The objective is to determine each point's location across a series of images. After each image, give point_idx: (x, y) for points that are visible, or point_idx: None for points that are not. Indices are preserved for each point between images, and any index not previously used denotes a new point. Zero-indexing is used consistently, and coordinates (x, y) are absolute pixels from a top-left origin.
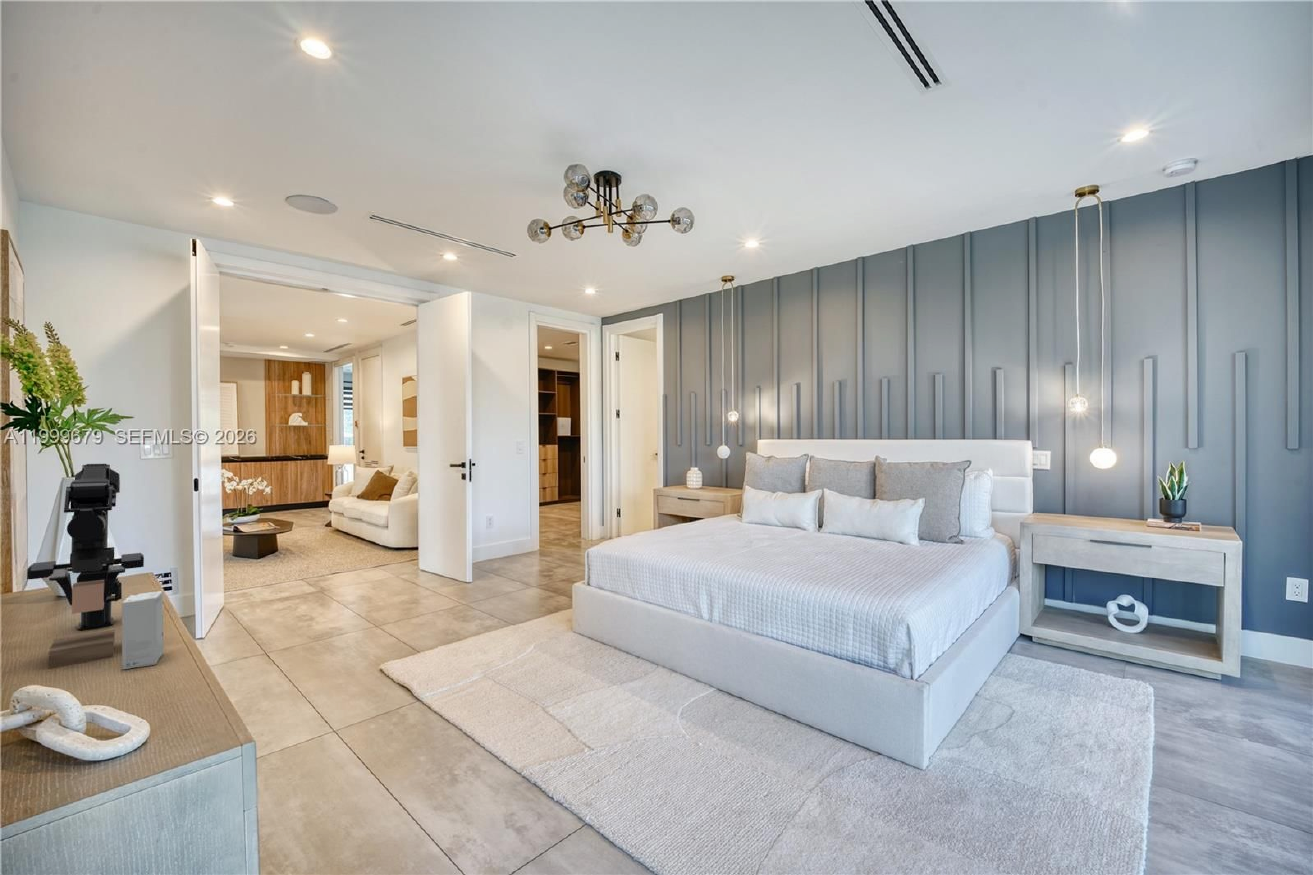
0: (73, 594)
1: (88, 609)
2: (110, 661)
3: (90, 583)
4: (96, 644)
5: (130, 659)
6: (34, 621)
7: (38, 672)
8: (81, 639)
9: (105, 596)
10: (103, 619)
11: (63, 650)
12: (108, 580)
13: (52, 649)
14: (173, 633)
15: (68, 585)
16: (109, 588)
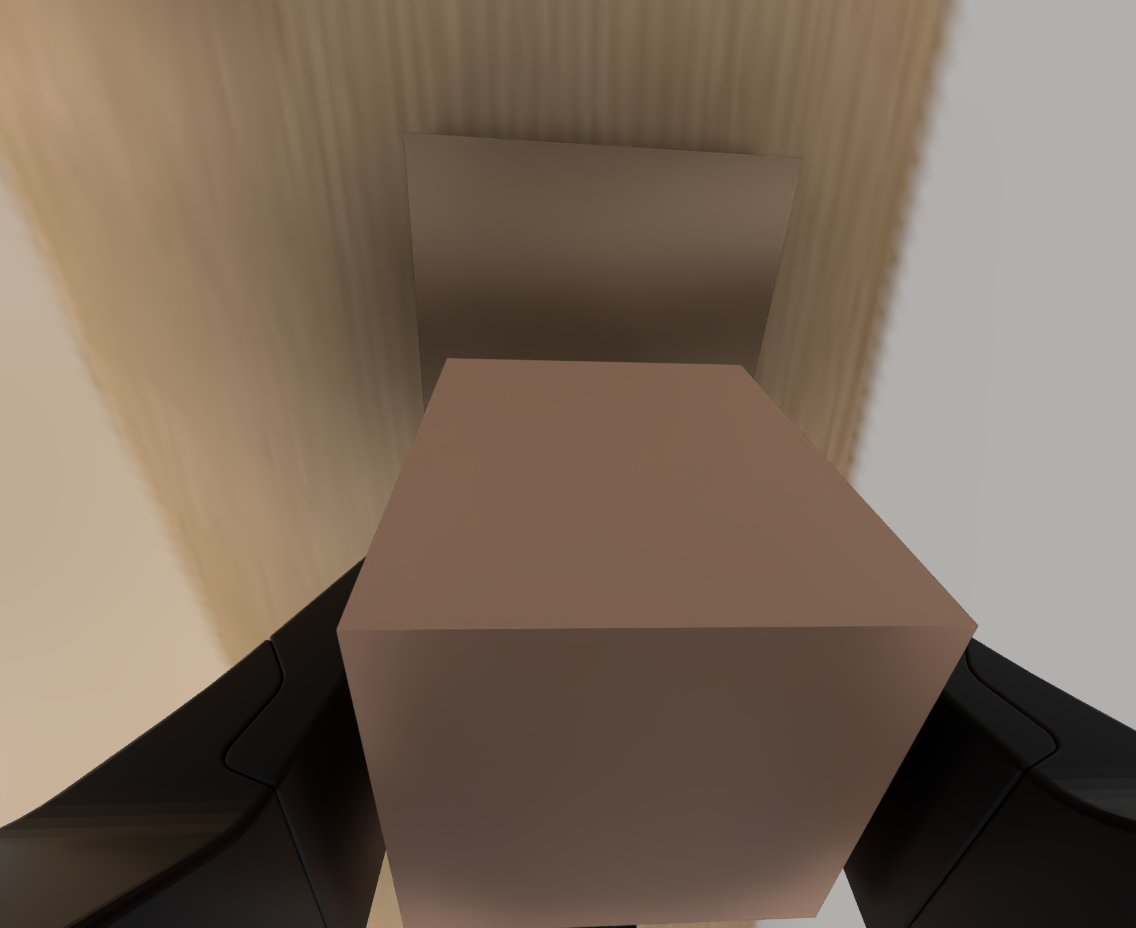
0: (852, 504)
1: (592, 370)
2: (432, 3)
3: (610, 774)
4: (515, 141)
5: None
6: None
7: (807, 108)
8: None
9: None
10: None
11: (716, 152)
12: (243, 766)
13: (774, 220)
14: (158, 455)
15: (1027, 738)
16: (312, 611)
